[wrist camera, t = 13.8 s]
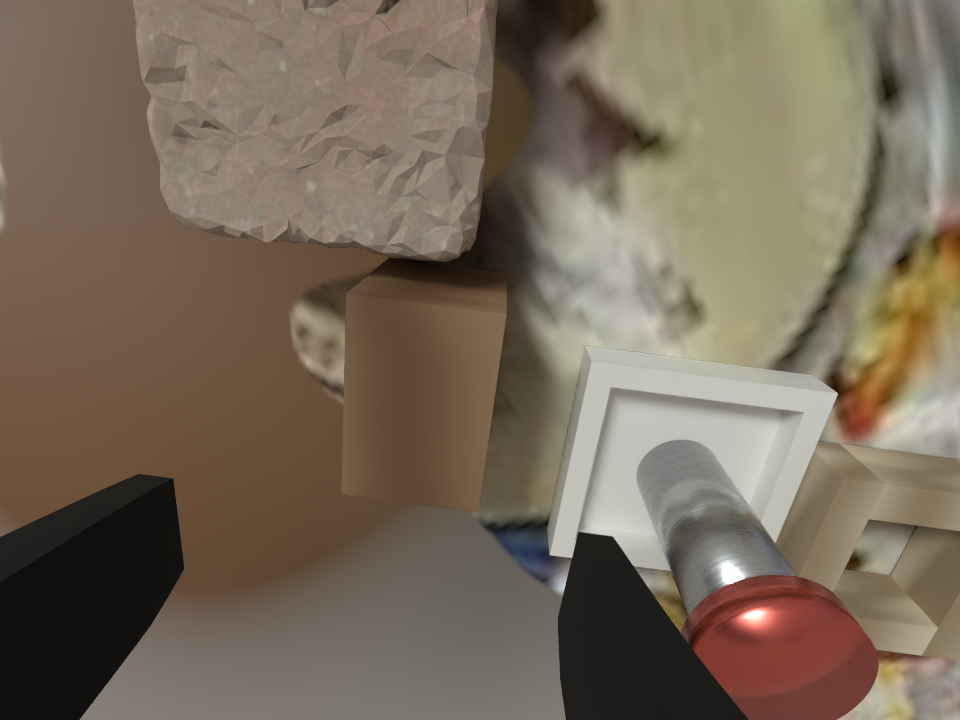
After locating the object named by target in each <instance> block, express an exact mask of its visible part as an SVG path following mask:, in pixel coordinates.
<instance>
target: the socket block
mask: <svg viewBox="0 0 960 720" xmlns="http://www.w3.org/2000/svg"><path fill="white" fill-rule="evenodd" d="M869 519H871V520H879V521H886V522H894V523H901V524H909V525H917V528H916V529H915V531H914V533H913V535H912V537H911V539H910V541H909V542H908V544H907V546H906V548H905V550H904V552H903V554H902V555H901V557H900V559H899V561H898V563H897V565H896V567H895V568H894V570H893V572H892V574H891V576H888V575H880V574H873V573H865V572H858V571H850V570H844V569H845V567H846V565H847V563H848V561H849V559H850V556H851V554H852V552H853V550H854V548H855V546H856V544H857V542H858V540H859V538H860V536H861V534H862V532H863V530H864V528H865V526H866V524H867V522H868V520H869ZM775 544H776V545H777V547H778V548H779V549H780V551H781V552H782V554H783V555H784V557H785V558H786V560H787V561H788V563H789V564H790V565H791V567H792V568H793V570H794V571H795V573H796V574H797V576H798V577H801V578H806V579H809V580H812V581H814V582H817V583H819V584H821V585H823V586H825V587H826V588H828V589H829V590H831V591H832V592H833V593H834V594H836V595H837V596H838V597H839V598H840V600H841V601H842V602H843V604H844V605H845V606H846V608H847V609H848V610H849V612H850V613H851V614H852V616H853V617H854V618H855V620H856V621H857V622H858V624H859V625H860V626H861V628H862V629H863V630H864V632H865V633H866V634H867V636H868V637H869V638H870V640H871V641H872V643H873V645H874V647H875V649H876V650H883V651H891V652H899V653H906V654H914V655H921V656H929V657H936V658H944V659H952V660H960V460H959V459H951V458H944V457H936V456H928V455H921V454H913V453H905V452H898V451H890V450H882V449H875V448H867V447H859V446H852V445H844V444H836V443H829V442H821V441H818V443H817V445H816V447H815V450H814V452H813V455H812V457H811V459H810V462H809V464H808V467H807V469H806V471H805V474H804V476H803V479H802V481H801V483H800V486H799V488H798V491H797V493H796V495H795V498H794V500H793V502H792V505H791V507H790V510H789V512H788V514H787V517H786V519H785V522H784V524H783V526H782V529H781V531H780V534H779V536H778V538H777V541H776V543H775Z"/></svg>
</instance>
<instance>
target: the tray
mask: <svg viewBox="0 0 960 720" xmlns="http://www.w3.org/2000/svg"><path fill="white" fill-rule="evenodd" d="M837 395H838V393H837V392H835V391H834V390H832V389H831V388H830V387H828V386H827V385H825V384H824V383H823V382H821V381H820V380H818V379H817V378H816V377H814V376H813V375H807V374H799V373H791V372H784V371H776V370H768V369H760V368H753V367H745V366H737V365H730V364H722V363H714V362H706V361H699V360H691V359H683V358H676V357H668V356H660V355H652V354H645V353H637V352H629V351H622V350H614V349H606V348H599V347H591V346H585V349H584V354H583V359H582V363H581V368H580V373H579V378H578V383H577V388H576V392H575V397H574V402H573V407H572V412H571V416H570V421H569V426H568V431H567V436H566V441H565V445H564V450H563V455H562V460H561V465H560V469H559V474H558V479H557V484H556V489H555V493H554V498H553V503H552V508H551V513H550V518H549V522H548V527H547V532H548V541H549V551H550V555H553V556H561V557H568V558H572V556H573V552H574V548H575V543H576V539H577V535H578V532H584V533H591V534H599V535H606V536H613V537H614V539H615V540H616V541H617V543H618V544H619V546H620V547H621V549H622V550H623V551H624V553H625V554H626V556H627V557H628V559H629V560H630V562H631V563H632V565H633V566H636V567H644V568H652V569H659V570H667V571H671V570H670V567H669V565H668V562H667V560H666V557H665V555H664V552H663V549H662V547H661V544H660V542H659V539H658V537H657V534H656V531H655V529H654V526H653V524H652V521H651V519H650V516H649V513H648V511H647V508H646V506H645V503H644V501H643V498H642V495H641V493H640V490H639V488H638V485H637V480H636V475H637V469H638V466H639V464H640V462H641V460H642V459H643V458H644V456H645V455H646V454H647V453H648V452H649V451H650V450H652V449H653V448H655V447H656V446H658V445H660V444H662V443H665V442H668V441H672V440H691V441H695V442H698V443H701V444H703V445H704V446H706V447H707V448H709V449H710V450H711V451H712V452H713V454H714V455H715V457H716V458H717V459H718V461H719V462H720V464H721V465H722V467H723V468H724V470H725V471H726V472H727V474H728V475H729V477H730V478H731V480H732V481H733V483H734V484H735V486H736V487H737V488H738V490H739V491H740V493H741V494H742V496H743V497H744V499H745V500H746V502H747V503H748V504H749V506H750V507H751V509H752V510H753V512H754V513H755V515H756V516H757V518H758V519H759V520H760V522H761V523H762V525H763V526H764V528H765V529H766V531H767V532H768V533H769V535H770V536H771V538H772V539H773V541H774V542H775V543H776V541H777V538H778V536H779V534H780V531H781V529H782V526H783V524H784V522H785V519H786V517H787V514H788V512H789V510H790V507H791V505H792V502H793V500H794V498H795V495H796V493H797V491H798V488H799V486H800V483H801V481H802V479H803V476H804V474H805V471H806V469H807V467H808V464H809V462H810V459H811V457H812V455H813V452H814V450H815V447H816V445H817V443H818V440H819V438H820V436H821V433H822V431H823V428H824V426H825V424H826V421H827V419H828V416H829V414H830V412H831V409H832V407H833V404H834V402H835V400H836V397H837Z"/></svg>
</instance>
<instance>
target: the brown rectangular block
mask: <svg viewBox="0 0 960 720" xmlns="http://www.w3.org/2000/svg"><path fill="white" fill-rule="evenodd" d="M506 316H507V273H503V272H495V271H488V270H480V269H472V268H464V267H457V266H449V265H441V264H433V263H426V262H418V261H410V260H402V259H396V258H391V257H390V258H388V259H387V260H386V261H385V262H383V263H382V264H381V265H380V266H379V267H377V268H376V269H375V270H374V271H373V272H371V273H370V274H369V275H368V276H367V277H365V278H364V279H363V280H362V281H361V282H359V283H358V284H357V285H356V286H355V287H353V288H352V289H351V290H350V291H349V292H347V293H346V320H345V365H344V409H343V456H342V494H344V495H352V496H360V497H367V498H374V499H382V500H390V501H397V502H405V503H413V504H420V505H428V506H436V507H444V508H451V509H459V510H466V511H474V512H478V511H479V504H480V497H481V490H482V483H483V476H484V469H485V462H486V455H487V448H488V441H489V434H490V427H491V420H492V413H493V406H494V399H495V392H496V385H497V379H498V372H499V365H500V358H501V351H502V344H503V337H504V330H505V323H506Z"/></svg>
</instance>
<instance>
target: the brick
mask: <svg viewBox="0 0 960 720" xmlns="http://www.w3.org/2000/svg"><path fill="white" fill-rule="evenodd" d="M498 3H499V0H133V4H134V11H135V16H136V41H137V49H138V55H139V63H140V71H141V75H142V79H143V83H144V84H145V86H146V88H147V89H148V91H149V93H150V95H151V96H152V97H151V100H150V103H149V107H148V110H147V118H148V124H149V129H150V135H151V139H152V142H153V145H154V147H155V150H156V152H157V155H158V158H159V160H160V163H161V165H160V170H161V171H160V190H161V192H162V194H163V196H164V199H165V201H166V203H167V205H168V207H169V210H170V211H171V213H172V214H173V215H174V216H175V217H176V218H177V219H179V221H181V222H182V223H183V224H185V225H186V226H187V227H190V228H195V229H200V230H204V231H206V232H208V233H211V234H215V235H219V236H226V237H234V238H252V239H255V240H259V241H262V242H276V241H288V242H292V243H301V242H304V243H316V244H321V245H324V246H326V247H329V248H345V247H354V248H361V249H366V250H368V251H370V252H373V253H376V254H381V255H385V256H389V257H405V258H408V259H415V260H430V261H443V262H446V261H450V260H453V259H456V258H459V257H460V255H461V254H462V252H465V251H469V250H470V248H471V246H472V245H473V243H474V241H475V239H476V232H477V228H478V223H479V220H480V211H481V204H482V199H483V197H482V192H483V186H484V179H483V176H484V170H485V152H486V139H487V130H488V122H489V118H490V114H491V105H492V92H493V78H494V64H495V27H496V15H497V9H498Z"/></svg>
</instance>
